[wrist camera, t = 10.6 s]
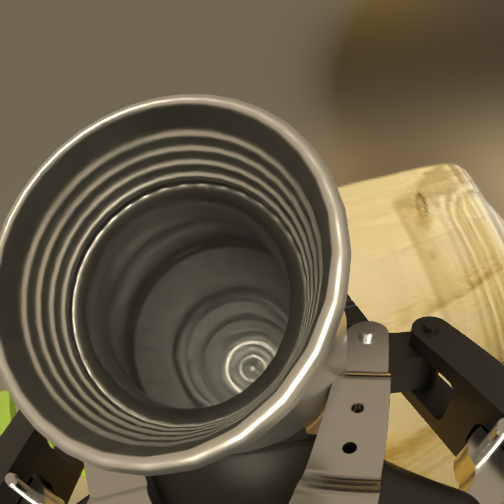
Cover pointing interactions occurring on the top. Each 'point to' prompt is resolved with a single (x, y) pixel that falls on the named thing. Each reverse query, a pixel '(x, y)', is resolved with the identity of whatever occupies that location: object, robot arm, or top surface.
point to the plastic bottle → (175, 287)
